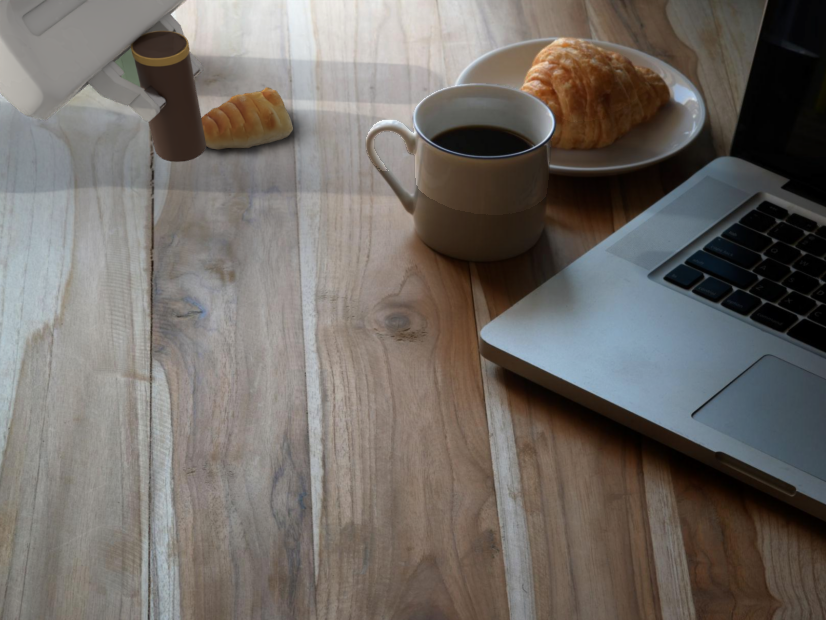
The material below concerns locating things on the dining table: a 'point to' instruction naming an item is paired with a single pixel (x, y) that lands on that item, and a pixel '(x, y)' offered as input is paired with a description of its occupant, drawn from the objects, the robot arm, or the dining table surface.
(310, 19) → the dining table surface
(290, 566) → the dining table surface
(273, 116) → the pastry
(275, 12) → the dining table surface
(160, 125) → the tube
